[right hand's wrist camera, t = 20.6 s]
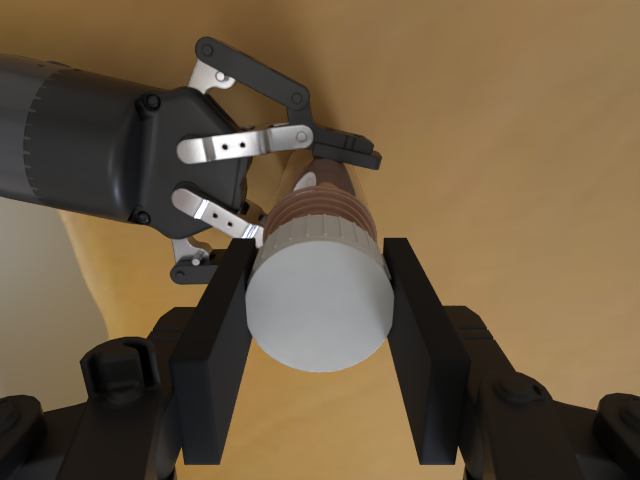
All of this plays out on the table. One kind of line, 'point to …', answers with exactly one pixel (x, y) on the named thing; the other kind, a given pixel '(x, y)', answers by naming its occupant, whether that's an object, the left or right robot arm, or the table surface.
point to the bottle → (318, 193)
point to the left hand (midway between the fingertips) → (364, 205)
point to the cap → (319, 294)
